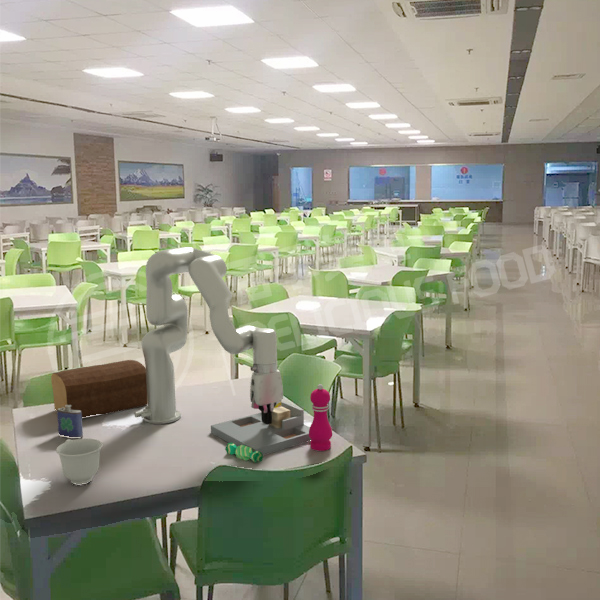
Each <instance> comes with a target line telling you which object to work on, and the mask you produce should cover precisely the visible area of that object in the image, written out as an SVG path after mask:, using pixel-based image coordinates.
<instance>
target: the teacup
mask: <svg viewBox="0 0 600 600" xmlns="http://www.w3.org/2000/svg"><path fill="white" fill-rule="evenodd" d="M101 448H103V442H101V441H100V440H99V439H95V438H94V439H93V438H81V439H71V438H67V439H66V440H65V442H64V443H60V444H59V445H58V446H57V448H56V450H55V451H56V454H58V455H59V458H60V463H61V468H62V473H63V475H64V476H65V478H67V479H68V480H70V483H71V482H72V483H76V484H82V483H87V482H89V481H91V480H92V478H93V477H94V476H96V475H97V473H98V471H99V467H100V453H101Z"/></svg>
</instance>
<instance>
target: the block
mask: <svg viewBox="0 0 600 600" xmlns="http://www.w3.org/2000/svg"><path fill="white" fill-rule="evenodd" d="M288 418H290V410H289V409H286V408H284V407H282V406H281V407H277V408H274V410H273V411H272V423H271V424H270V425H272V426H274V427H276V428H281V427H282V420H285V419H288Z"/></svg>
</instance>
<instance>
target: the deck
mask: <svg viewBox="0 0 600 600" xmlns="http://www.w3.org/2000/svg"><path fill="white" fill-rule="evenodd" d="M281 406H282V407H284V408H286V409H289V410H290V418H288V419H285V420H282V427H281V428H276V427H274V426H272V425H270V424H268V425H267V424H265V423H263V422H262V416H261V412H258V413H254V414H250V415H247V416H242V417H238V418H233V419H231V420H227V421H224V422H219V423H215V424H211V425H210V434H212V435H214V436H216V437H217V438H220V439H221V440H224V441H225V442H227V444H228V443H233V444H235V445H236V447H238V446H240V445H244V446H247V447H250V448H251V449H252V451H253V452H255V451H259V452H261V453H262V455H263V456H265V455H268V454H272V453H274V452H278V451H282V450H285V449H289V448H292V447H295V446H298V445H301V443H302V444H304V443H307V441H308V442H311V441H310V440H311V438H310V437H309V429H310V426H309V425H305V424H304V423H305V415H304V414H305V411H304V408H303V409H302V408H300V407H298V406H296V405H293V404H291V403H288V402H286V401H281Z"/></svg>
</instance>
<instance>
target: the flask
mask: <svg viewBox="0 0 600 600" xmlns="http://www.w3.org/2000/svg"><path fill="white" fill-rule="evenodd" d="M65 407H67V408H64V407H62V408H59V409H57V411H56V416H57V431H58V432H57V433H59V434H60V435H64V436H69V437H81V438H82V437H83V438H84V430H83V419H82V413H81V411H80V410H70V409H71V405H70V406H69V405H65Z"/></svg>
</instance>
